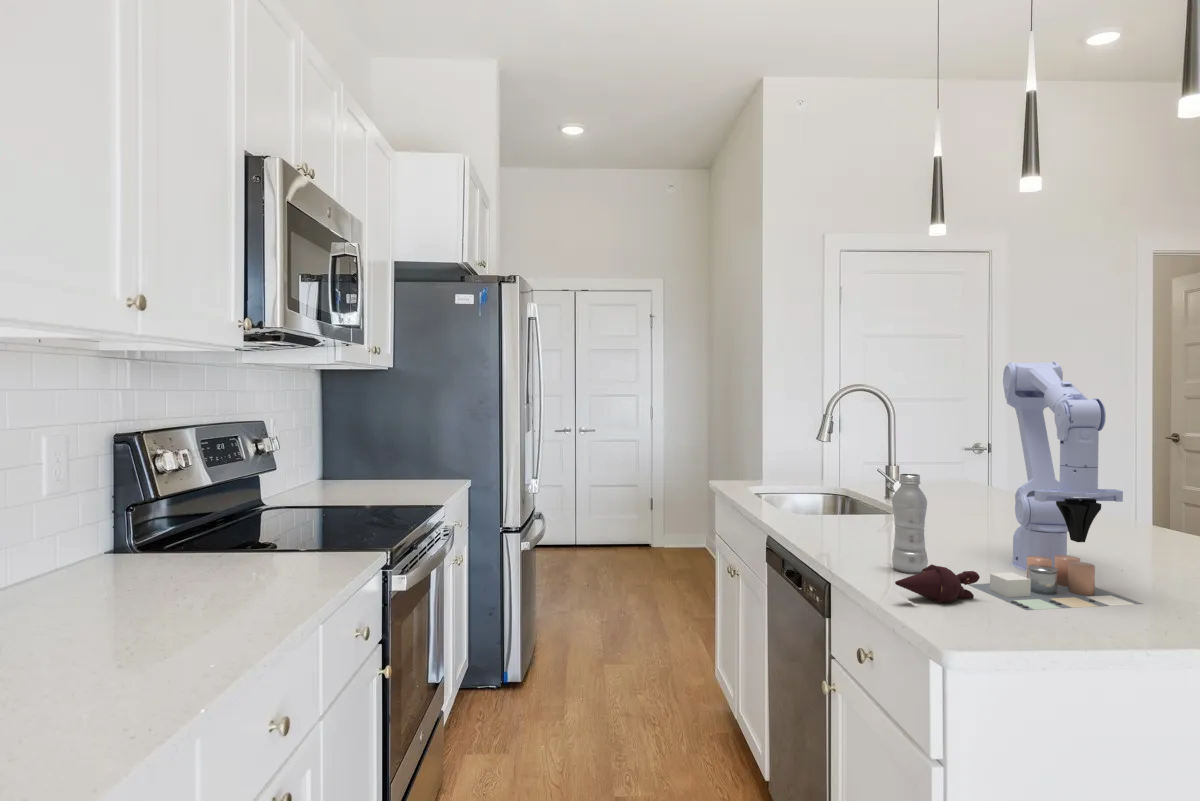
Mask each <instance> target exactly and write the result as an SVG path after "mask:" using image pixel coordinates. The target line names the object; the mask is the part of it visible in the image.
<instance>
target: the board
mask: <svg viewBox="0 0 1200 801" xmlns="http://www.w3.org/2000/svg"><path fill="white" fill-rule="evenodd" d="M967 586H970V587H972V588H974V589H976V590H979V591H981V592H983V593H986V594H988V595H991V596H993V597H994V598H998V599H1000V600H1002V601H1004V602H1006V603H1008V604H1011V605H1013V606H1016V607H1018V608H1020V609H1023V610H1026V611H1037V610H1038V611H1041V610H1056V609H1075V608H1095V607H1096V608H1097V607H1113V606H1132V605H1133V606H1134V605H1135V606H1136V605H1144V603H1142V602H1140V601H1136V600H1134V599H1131V598H1127V597H1125V596H1122V595H1119V594H1117V593H1113V592H1110V591H1107V590H1105V589H1101V588H1098V587H1096V586H1095V594H1094V595H1079V594H1074V593H1071V592H1069V591H1068V587H1066V586H1061V585H1057V594H1055V595H1043V594H1037V593H1033V592H1031V596H1023V597H1006V596H1003V595H1001V594H998V593H996V592H994V591H991V590H990V582H989V583H973V584H968V585H967Z"/></svg>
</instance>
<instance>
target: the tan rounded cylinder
mask: <svg viewBox="0 0 1200 801" xmlns="http://www.w3.org/2000/svg"><path fill="white" fill-rule="evenodd" d="M1095 587H1096V567H1095V564H1093V563H1088V562H1083V561H1080V562H1069V563H1068V591H1069V592H1071V593H1074V594H1079V595H1094V594H1095Z"/></svg>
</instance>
